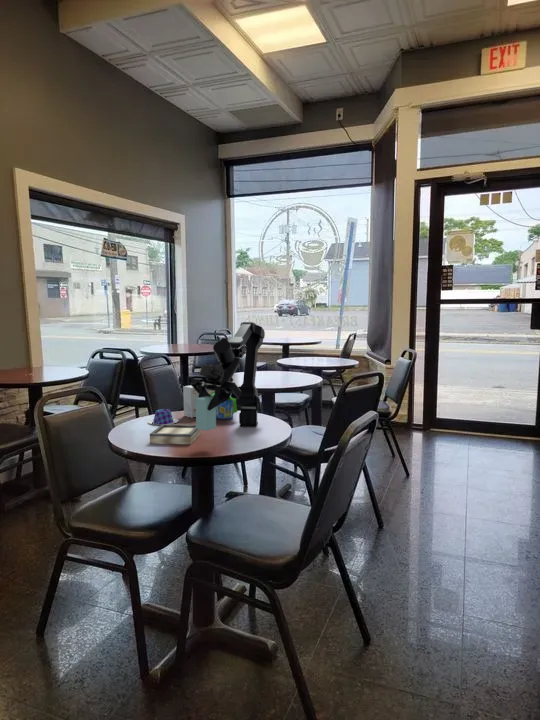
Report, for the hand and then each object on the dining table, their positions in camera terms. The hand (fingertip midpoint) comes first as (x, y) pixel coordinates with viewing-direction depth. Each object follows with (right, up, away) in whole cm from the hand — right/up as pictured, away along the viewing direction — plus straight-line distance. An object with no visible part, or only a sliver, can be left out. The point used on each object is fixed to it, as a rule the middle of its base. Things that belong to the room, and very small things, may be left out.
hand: (202, 408), depth 152 cm
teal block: (+1, -6, +2) cm, 7 cm away
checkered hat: (-21, -10, +38) cm, 45 cm away
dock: (-11, -12, +13) cm, 21 cm away
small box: (-10, -8, +50) cm, 52 cm away
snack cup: (+2, -9, +46) cm, 47 cm away
